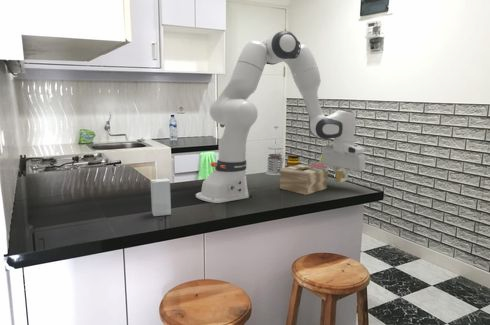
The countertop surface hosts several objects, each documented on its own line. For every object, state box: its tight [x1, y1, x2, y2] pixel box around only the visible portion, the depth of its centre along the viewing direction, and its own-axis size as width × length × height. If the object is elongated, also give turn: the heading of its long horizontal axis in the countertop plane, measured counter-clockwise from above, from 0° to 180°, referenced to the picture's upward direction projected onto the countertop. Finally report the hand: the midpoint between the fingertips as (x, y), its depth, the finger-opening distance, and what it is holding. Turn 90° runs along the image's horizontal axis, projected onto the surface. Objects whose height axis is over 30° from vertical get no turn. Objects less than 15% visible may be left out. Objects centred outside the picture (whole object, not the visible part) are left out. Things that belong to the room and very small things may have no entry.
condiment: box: [286, 154, 300, 167], centre depth 182 cm, size 7×8×12 cm
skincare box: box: [150, 178, 172, 217], centre depth 125 cm, size 6×4×12 cm
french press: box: [265, 125, 284, 176], centre depth 191 cm, size 10×12×25 cm
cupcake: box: [310, 153, 327, 168], centre depth 187 cm, size 9×8×12 cm
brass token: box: [334, 168, 347, 183], centre depth 165 cm, size 5×2×5 cm, turn 135°
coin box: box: [279, 163, 329, 196], centre depth 164 cm, size 16×14×9 cm
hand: (341, 177), depth 165 cm, fingers closed on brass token, 2 cm apart
